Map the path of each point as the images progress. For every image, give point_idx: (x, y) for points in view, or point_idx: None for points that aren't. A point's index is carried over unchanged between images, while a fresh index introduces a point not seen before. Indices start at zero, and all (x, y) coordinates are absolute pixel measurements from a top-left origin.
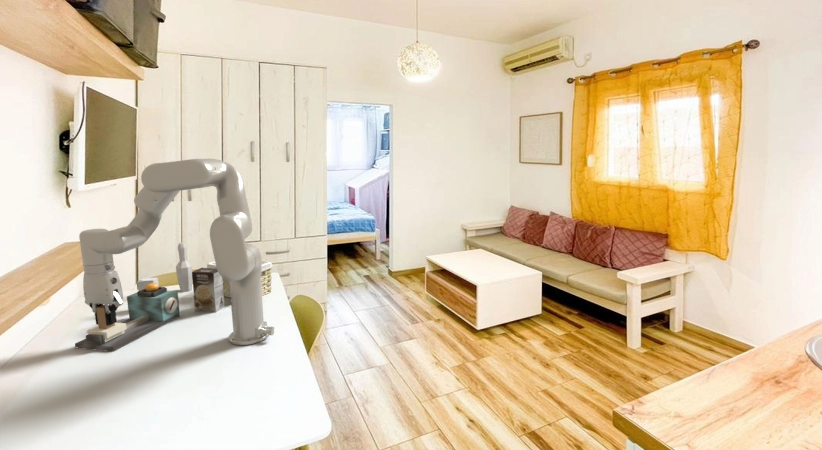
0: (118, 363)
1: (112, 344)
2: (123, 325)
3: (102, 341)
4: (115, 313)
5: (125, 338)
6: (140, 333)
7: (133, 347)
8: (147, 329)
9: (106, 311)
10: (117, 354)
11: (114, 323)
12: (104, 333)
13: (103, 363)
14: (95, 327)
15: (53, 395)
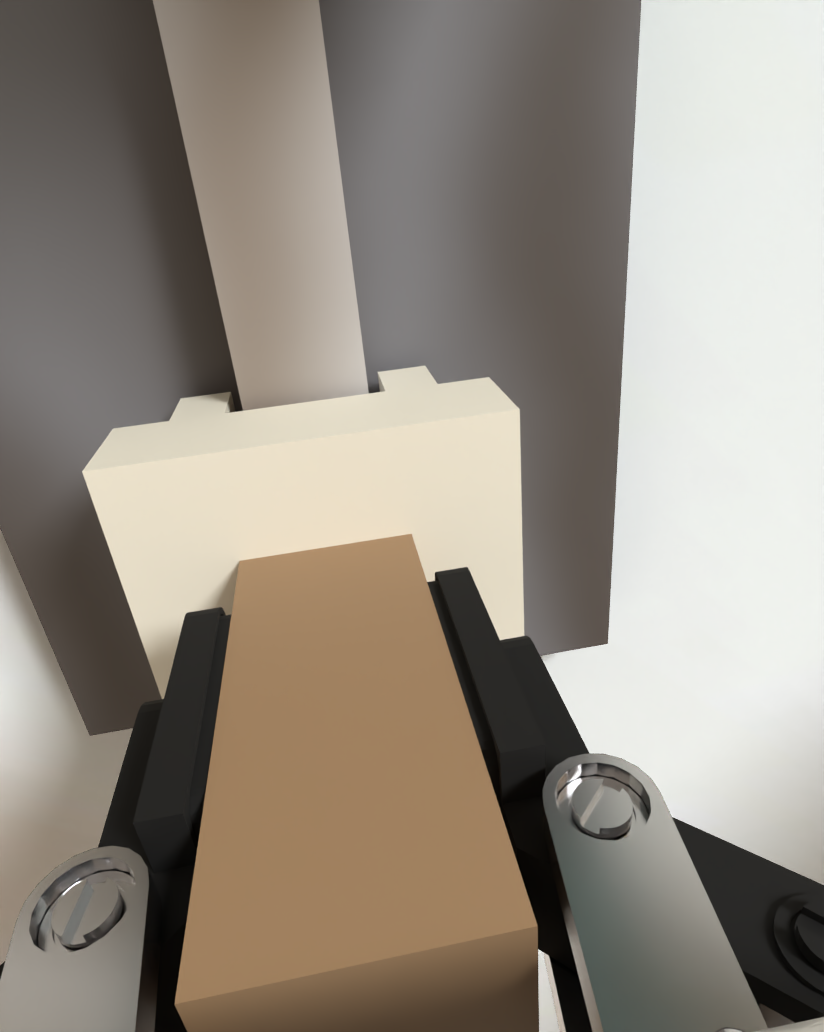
0: (799, 716)
1: (552, 615)
2: (514, 455)
3: None
4: (515, 683)
5: (565, 463)
6: (622, 255)
7: (718, 493)
8: (632, 93)
9: (560, 973)
10: (672, 635)
11: (416, 562)
12: None
13: (680, 753)
14: (165, 688)
15: None
